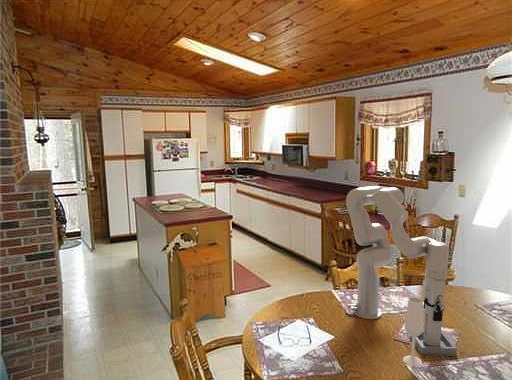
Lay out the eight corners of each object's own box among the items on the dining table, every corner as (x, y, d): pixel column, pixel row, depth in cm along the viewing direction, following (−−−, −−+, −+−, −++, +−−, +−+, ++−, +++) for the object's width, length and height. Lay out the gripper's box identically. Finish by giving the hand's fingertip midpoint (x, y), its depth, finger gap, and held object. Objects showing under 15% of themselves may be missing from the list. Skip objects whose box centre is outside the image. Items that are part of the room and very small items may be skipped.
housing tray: (421, 355, 147) (421, 347, 147) (409, 337, 160) (410, 330, 160) (456, 355, 146) (456, 348, 146) (441, 338, 159) (442, 331, 159)
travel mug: (439, 341, 155) (441, 293, 153) (441, 349, 149) (444, 300, 147) (422, 338, 158) (424, 292, 155) (423, 346, 151) (426, 298, 149)
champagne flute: (408, 353, 148) (411, 294, 145) (425, 361, 143) (429, 299, 140) (399, 360, 144) (402, 299, 140) (416, 368, 139) (420, 305, 135)
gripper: (418, 265, 158) (414, 304, 161) (435, 282, 141) (431, 325, 144) (436, 265, 158) (433, 305, 160) (456, 282, 141) (451, 326, 143)
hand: (432, 314), depth 152 cm, fingers open, 9 cm apart
